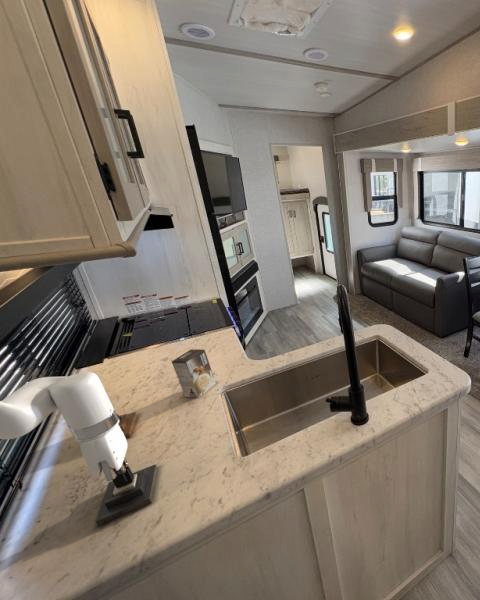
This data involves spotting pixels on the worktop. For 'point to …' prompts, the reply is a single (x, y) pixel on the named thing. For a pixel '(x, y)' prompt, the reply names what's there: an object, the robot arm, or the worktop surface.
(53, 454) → the worktop surface
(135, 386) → the worktop surface
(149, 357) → the worktop surface
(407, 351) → the worktop surface
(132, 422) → the brown stepped pedestal
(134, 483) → the white key
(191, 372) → the coffee box
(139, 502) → the black stepped pedestal
